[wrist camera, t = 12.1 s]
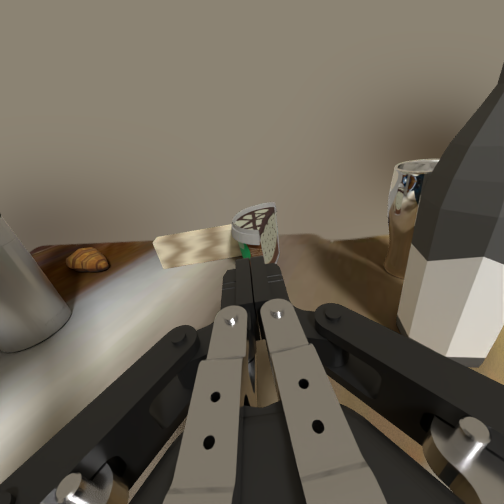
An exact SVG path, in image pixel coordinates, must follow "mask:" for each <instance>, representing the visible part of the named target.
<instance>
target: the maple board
mask: <svg viewBox="0 0 504 504" xmlns="http://www.w3.org/2000/svg"><path fill="white" fill-rule="evenodd" d="M231 228H232V224H230V225H224V226H219V227H212V228H207V229H201V230H195V231H189V232H184V233H178V234H173V235H166V236H161V237H157V238H156V239H155V240H154V242H153V245H154V247H155V249H156V252H157V254H158V257H159V259H160V261H161V264H162V266H163V269H167V268H173V267H179V266H184V265H190V264H196V263H202V262H208V261H214V260H220V259H226V258H232V257H238V256H242V253H241V250H240V247H239V243H238V241H237V240H235V239H234V238H233V237H232V233H231Z"/></svg>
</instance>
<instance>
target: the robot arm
mask: <svg viewBox="0 0 504 504" xmlns="http://www.w3.org/2000/svg"><path fill="white" fill-rule="evenodd" d="M250 263H251V265H250ZM70 315H71V310H70V308H69V307H68V306H67V304H66V303H65V301H64V300H63V299H62V297H61V296H60V295H59V293H58V292H57V290H56V289H55V288H54V286H53V285H52V283H51V282H50V281H49V279H48V278H47V277H46V275H45V274H44V273H43V271H42V270H41V268H40V267H39V266H38V264H37V263H36V262H35V260H34V259H33V258H32V256H31V255H30V253H29V252H28V251H27V249H26V248H25V247H24V245H23V244H22V243H21V241H20V240H19V238H18V237H17V236H16V235H15V233H14V232H13V230H12V229H11V228H10V226H9V225H8V224H7V222H6V221H5V219H4V218H3V217H2V216H1V214H0V350H1V351H3V352H9V353H11V352H17V351H20V350H24V349H26V348H29V347H31V346H33V345H35V344H37V343H39V342H41V341H43V340H45V339H46V338H48V337H49V336H51V335H52V334H54V333H55V332H56V331H57V330H59V329H60V328H61V327H62V326H63V325H64V324H65V323H66V322H67V320H68V319H69V317H70ZM258 322H259V323H258ZM259 328H260V332H259ZM260 333H261V338H262V340H263V339H265V340H266V346H267V351H268V356H269V361H270V365H271V370H272V374H273V379H274V383H275V388H276V392H277V397H278V402H276V403H273V404H271V405H269V406H267V407H264V408H259V407H258V406H257V356H256V341H257V340H260ZM327 375H328V376H330V377H331V378H332V379H334V380H335V381H336V382H338V383H339V384H340V385H342V386H343V387H344V388H346V389H347V390H348V391H350V392H351V393H352V394H354V395H355V396H356V397H358V398H359V399H360V400H362V401H363V402H364V403H366V404H367V405H368V406H370V407H371V408H372V409H373V410H375V411H376V412H377V413H379V414H380V415H381V416H383V417H384V418H385V419H387V420H388V421H389V422H391V423H392V424H393V425H395V426H396V427H397V428H399V429H400V430H401V431H403V432H404V433H405V434H407V435H408V436H409V437H411V438H412V439H413V440H415V441H416V442H417V443H419V444H420V445H421V446H423V453H424V456H425V458H426V461H427V463H428V464H429V466H430V468H431V469H432V471H433V472H434V473H435V474H436V475H437V476H438V478H439V479H441V480H442V481H443V482H444V483H445V484H446V485H447V486H448V487H449V488H450V490H449V489H448V488H447V487H446V486H445V485H443V484H442V483H441V482H440V481H438V480H437V479H436V478H435V477H434V476H433V475H432V474H430V473H429V472H428V471H427V470H426V469H424V468H423V467H422V466H421V465H420V464H419V463H417V462H416V461H415V460H414V459H413V458H411V457H410V456H409V455H408V454H407V453H405V452H404V451H403V450H402V449H401V448H400V447H398V446H397V445H396V444H395V443H394V442H392V441H391V440H390V439H389V438H388V437H386V436H385V435H384V434H383V433H382V432H381V431H379V430H378V429H377V428H376V427H375V426H373V425H372V424H371V423H370V422H369V421H368V420H366V419H365V418H364V417H363V416H361V415H360V414H358V413H357V412H355V411H354V410H352V409H350V408H348V407H346V406H344V405H342V404H339V402H338V400H337V397H336V395H335V393H334V390H333V388H332V386H331V384H330V381H329V379H328V377H327ZM186 416H187V420H186V424H185V429H184V431H183V432H182V433H181V434H180V435H179V436H178V437H177V438H176V440H175V441H174V442H173V443H172V444H171V446H170V447H169V448H168V450H167V451H166V453H165V454H164V455H163V457H162V458H161V460H160V461H159V462H158V464H157V465H156V466H155V468H154V469H153V471H152V472H151V473H150V475H149V476H148V478H147V479H146V480H145V482H144V483H143V485H142V486H141V487H140V489H139V490H138V491H137V493H136V494H135V496H134V497H133V498H132V500H131V501H130V503H129V504H504V385H502V384H500V383H498V382H496V381H494V380H492V379H490V378H488V377H486V376H484V375H482V374H480V373H478V372H476V371H474V370H472V369H470V368H468V367H466V366H464V365H462V364H460V363H458V362H456V361H454V360H451V359H449V358H447V357H445V356H443V355H441V354H439V353H437V352H435V351H433V350H431V349H429V348H427V347H425V346H423V345H421V344H419V343H417V342H415V341H413V340H411V339H409V338H407V337H405V336H403V335H401V334H399V333H397V332H395V331H393V330H391V329H389V328H387V327H385V326H383V325H380V324H378V323H376V322H374V321H372V320H370V319H368V318H366V317H364V316H362V315H360V314H358V313H356V312H354V311H352V310H350V309H348V308H346V307H344V306H342V305H339V304H335V303H327V304H323V305H321V306H319V307H318V308H317V309H316V311H315V312H313V311H305V310H300V309H298V308H296V307H295V306H293V305H292V304H291V302H290V300H289V297H288V294H287V291H286V287H285V284H284V280H283V277H282V274H281V270H280V267H279V266H277V265H276V264H275V263H269V264H265V262H264V257H263V255H261V256H255V257H250V260H249V258H243V259H237V260H236V269H232V270H227V272H226V273H225V275H224V276H223V285H222V298H221V310H220V311H219V312H218V313H217V315H216V316H215V320H214V322H213V323H212V324H210V325H208V326H206V327H204V328H202V329H199V330H197V331H196V330H195V329H194V328H193V327H192V326H189V325H183V326H179V327H176V328H174V329H172V330H171V331H170V332H168V333H167V334H166V335H165V336H164V337H163V338H162V339H161V340H159V341H158V342H157V343H156V344H155V345H154V346H153V347H152V348H151V349H150V350H148V351H147V352H146V353H145V354H144V355H143V356H142V357H141V358H140V359H138V360H137V361H136V362H135V363H134V364H133V365H132V366H131V367H130V368H129V369H127V370H126V371H125V372H124V373H123V374H122V375H121V376H120V377H119V378H118V379H116V380H115V381H114V382H113V383H112V384H111V385H110V386H109V387H108V388H106V389H105V390H104V391H103V392H102V393H101V394H100V395H99V396H98V397H97V398H95V399H94V400H93V401H92V402H91V403H90V404H89V405H88V406H87V407H86V408H84V409H83V410H82V411H81V412H80V413H79V414H78V415H77V416H76V417H74V418H73V419H72V420H71V421H70V422H69V423H68V424H67V425H66V426H65V427H63V428H62V429H61V430H60V431H59V432H58V433H57V434H56V435H55V436H53V437H52V438H51V439H50V440H49V441H48V442H47V443H46V444H45V445H44V446H42V447H41V448H40V449H39V450H38V451H37V452H36V453H35V454H34V455H33V456H31V457H30V458H29V459H28V460H27V461H26V462H25V463H24V464H23V465H21V466H20V467H19V468H18V469H17V470H16V471H15V472H14V473H13V474H12V475H10V476H9V477H8V478H7V479H6V480H5V481H4V482H3V483H2V484H0V504H127V503H128V498H129V490H130V489H131V487H132V486H133V485H134V483H135V482H136V481H137V480H138V478H139V477H140V476H141V474H142V473H143V472H144V470H145V469H146V468H147V467H148V465H149V464H150V463H151V461H152V460H153V459H154V458H155V456H156V455H157V454H158V452H159V451H160V450H161V449H162V447H163V446H164V445H165V443H166V442H167V441H168V440H169V438H170V437H171V436H172V434H173V433H174V432H175V431H176V429H177V428H178V427H179V425H180V424H181V423H182V422H183V420H184V419H185V418H186ZM451 490H452V491H451Z"/></svg>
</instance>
